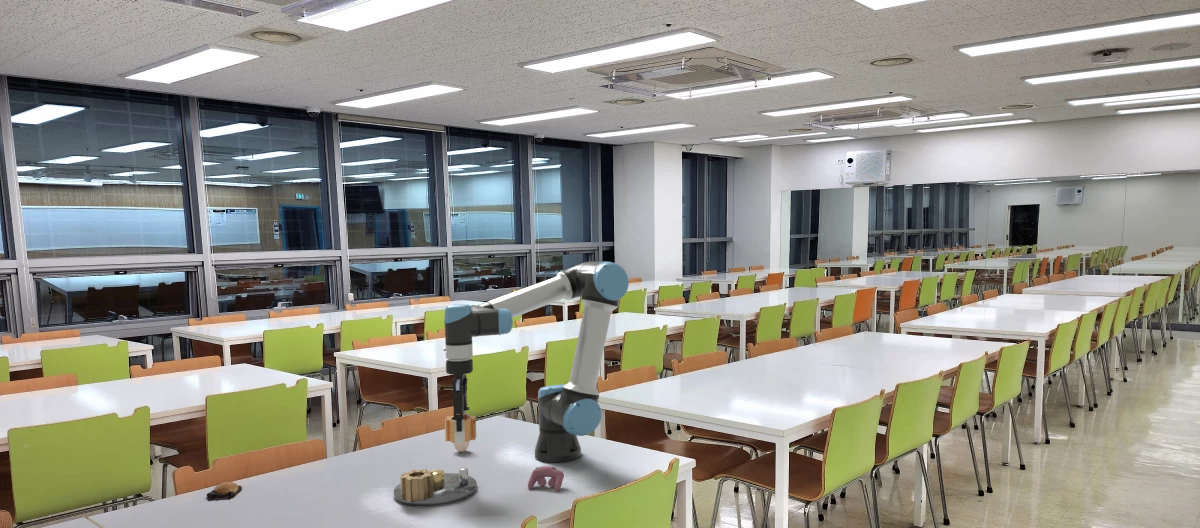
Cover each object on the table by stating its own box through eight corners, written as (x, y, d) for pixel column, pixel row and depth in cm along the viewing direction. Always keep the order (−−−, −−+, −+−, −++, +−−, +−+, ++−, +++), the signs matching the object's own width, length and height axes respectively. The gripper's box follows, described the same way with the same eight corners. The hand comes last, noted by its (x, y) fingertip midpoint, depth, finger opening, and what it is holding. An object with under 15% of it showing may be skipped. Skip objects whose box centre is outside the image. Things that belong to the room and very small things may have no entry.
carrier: (479, 475, 220) (478, 451, 219) (473, 503, 197) (472, 476, 197) (401, 480, 217) (400, 455, 217) (386, 509, 195) (385, 481, 194)
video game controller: (563, 493, 207) (566, 468, 210) (557, 491, 203) (561, 465, 206) (531, 490, 210) (535, 465, 213) (525, 488, 206) (529, 463, 209)
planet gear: (476, 434, 212) (476, 413, 212) (474, 442, 203) (474, 420, 203) (447, 435, 211) (446, 414, 211) (443, 443, 203) (443, 422, 202)
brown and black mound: (214, 491, 215) (214, 478, 215) (245, 488, 217) (244, 476, 216) (202, 504, 205) (201, 491, 204) (234, 500, 206) (234, 487, 206)
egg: (462, 448, 249) (461, 425, 249) (473, 450, 246) (472, 427, 246) (450, 452, 245) (449, 429, 244) (461, 455, 242) (460, 431, 241)
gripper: (449, 353, 217) (451, 428, 218) (441, 365, 196) (443, 449, 196) (475, 352, 217) (477, 427, 218) (469, 364, 196) (471, 447, 197)
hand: (461, 437), depth 207 cm, fingers closed on planet gear, 8 cm apart
